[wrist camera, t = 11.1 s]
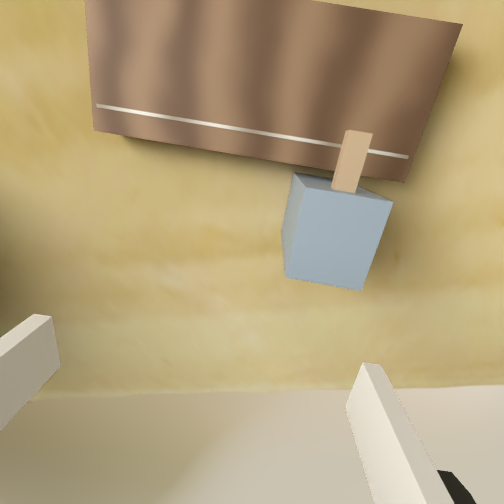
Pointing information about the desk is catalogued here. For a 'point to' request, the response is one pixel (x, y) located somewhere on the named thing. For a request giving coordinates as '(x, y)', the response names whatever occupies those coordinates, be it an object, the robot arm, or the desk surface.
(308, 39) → the plank
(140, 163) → the desk surface
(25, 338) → the robot arm
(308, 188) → the pale blue block
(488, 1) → the desk surface
